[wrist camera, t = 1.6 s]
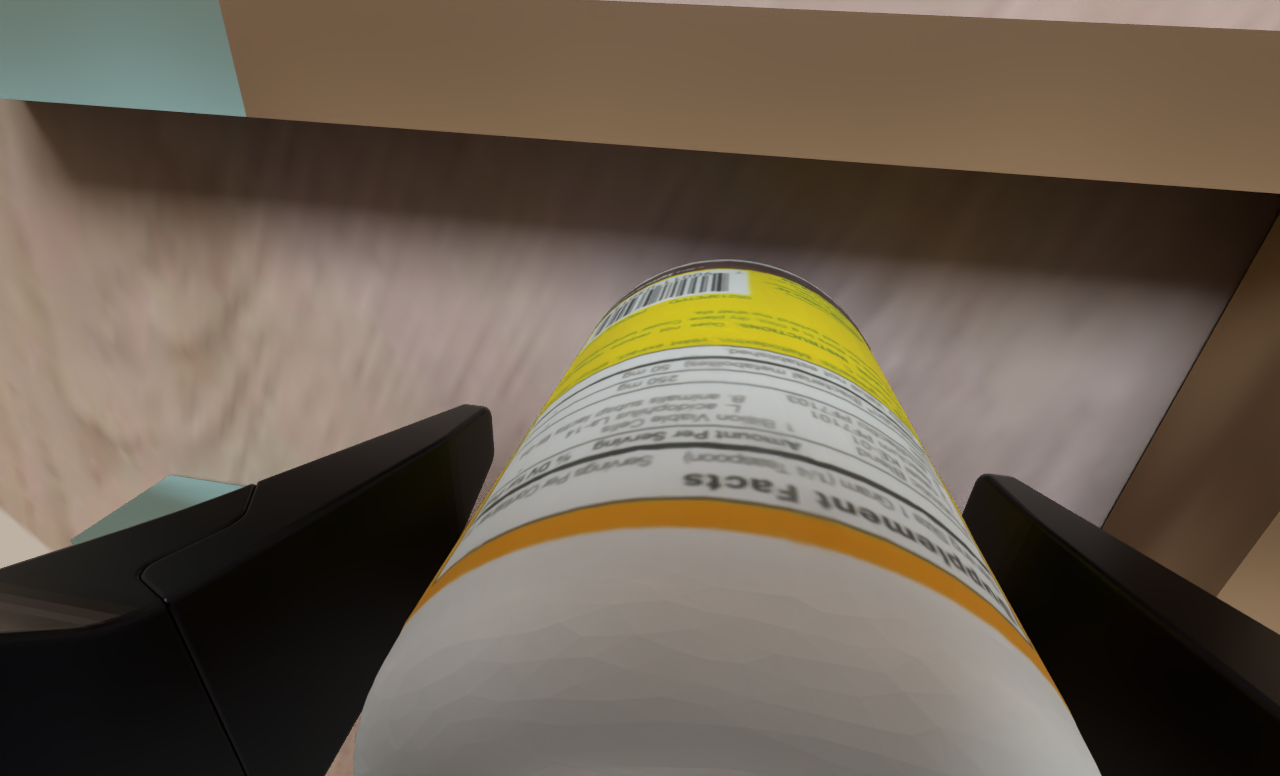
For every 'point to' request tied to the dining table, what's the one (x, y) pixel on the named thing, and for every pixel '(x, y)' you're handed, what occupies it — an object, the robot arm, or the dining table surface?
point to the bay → (771, 152)
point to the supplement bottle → (718, 573)
